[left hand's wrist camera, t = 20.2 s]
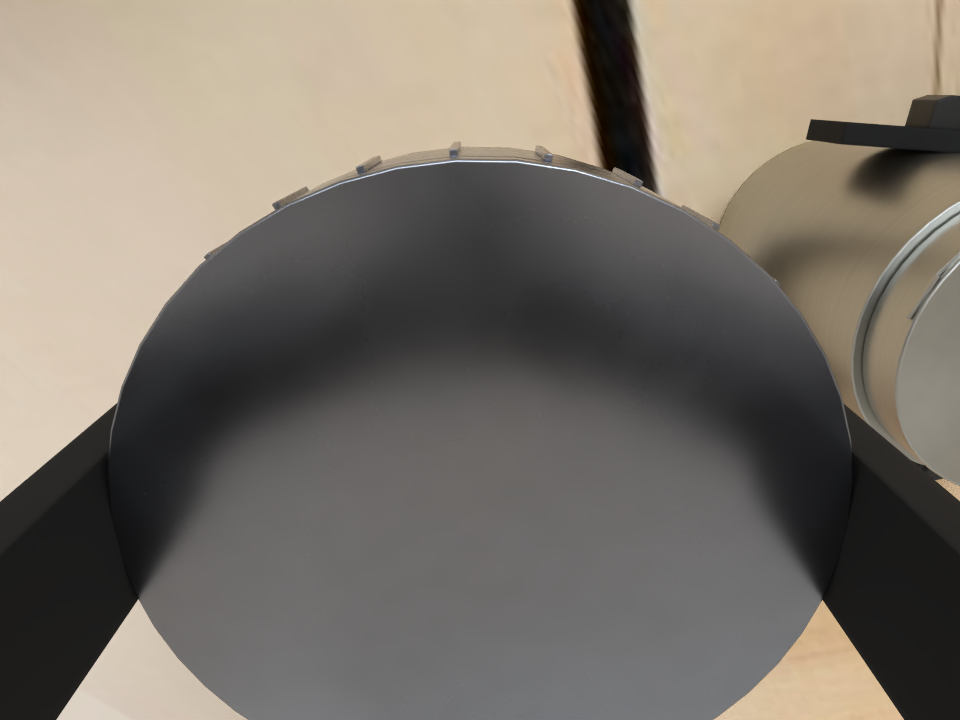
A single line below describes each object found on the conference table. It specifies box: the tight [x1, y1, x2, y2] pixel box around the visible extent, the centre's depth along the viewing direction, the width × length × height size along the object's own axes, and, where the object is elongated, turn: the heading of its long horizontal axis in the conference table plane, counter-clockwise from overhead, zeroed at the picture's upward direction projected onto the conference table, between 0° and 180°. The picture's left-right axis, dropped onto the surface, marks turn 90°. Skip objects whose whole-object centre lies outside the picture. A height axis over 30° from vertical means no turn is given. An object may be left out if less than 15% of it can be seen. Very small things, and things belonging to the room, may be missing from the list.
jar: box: [718, 141, 960, 486], centre depth 26 cm, size 10×10×15 cm
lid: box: [107, 142, 853, 720], centre depth 11 cm, size 12×12×2 cm
